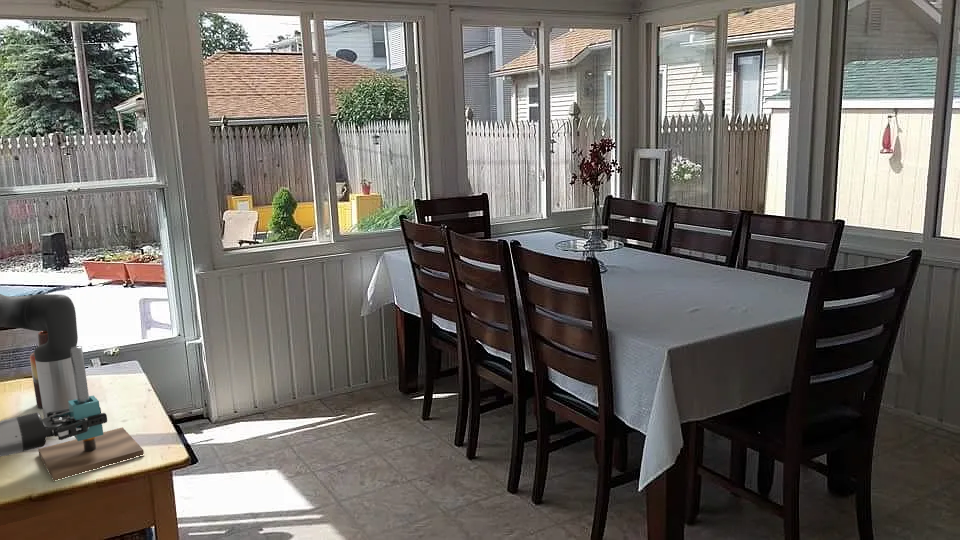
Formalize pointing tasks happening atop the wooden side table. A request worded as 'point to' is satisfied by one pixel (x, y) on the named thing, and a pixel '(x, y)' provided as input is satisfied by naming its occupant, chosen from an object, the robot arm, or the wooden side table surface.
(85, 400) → the pipe
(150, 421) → the wooden side table surface
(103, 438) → the stand board
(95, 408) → the sleeve
